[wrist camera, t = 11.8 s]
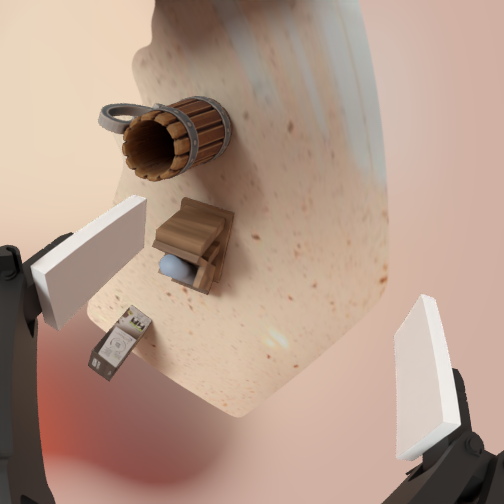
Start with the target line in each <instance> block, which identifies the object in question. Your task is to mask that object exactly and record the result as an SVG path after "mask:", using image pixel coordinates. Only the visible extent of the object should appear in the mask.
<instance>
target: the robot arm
mask: <svg viewBox="0 0 504 504" xmlns="http://www.w3.org/2000/svg"><path fill="white" fill-rule="evenodd" d="M146 203H147V198H144V197H141V196H137V195H134V194H133V195H132V196H130V197H128V198H127V199H125V200H124V201H122V202H120V203H119V204H117V205H116V206H114V207H113V208H111V209H110V210H108V211H107V212H105V213H104V214H102V215H101V216H99V217H98V218H97V219H95V220H93V221H92V222H90V223H89V224H87V225H86V226H84V227H83V228H82V229H80V230H79V231H77V232H76V233H75V234H74V233H72V232H71V233H68V234H65V235H62V236H60V237H58V238H57V239H55V240H54V241H53V242H52V243H51V244H48V245H47V246H46V247H45V248H44V249H42V250H40V251H39V252H38V253H36V254H35V255H33V256H32V257H31V258H29V259H28V260H27V261H26V262H24V263H23V264H22V260H21V255H20V251H19V249H18V248H17V247H15V246H13V245H5V246H1V247H0V504H55V500H54V497H53V495H52V492H51V491H50V489H49V487H48V484H47V481H46V476H45V470H44V464H43V456H42V449H41V440H40V430H39V418H38V403H37V333H38V320H37V316H38V315H39V314H40V313H41V312H42V314H43V317H44V320H45V323H47V324H48V325H50V326H51V327H53V328H55V329H56V330H58V331H59V330H60V329H61V328H62V327H63V326H64V325H65V324H66V323H67V322H68V321H69V320H70V319H71V318H72V317H73V316H74V315H75V314H76V313H77V312H78V310H80V309H81V307H82V306H83V305H84V304H85V303H86V302H87V301H88V300H89V299H91V298H92V297H93V296H94V295H95V294H96V293H97V292H98V291H99V290H100V289H101V288H102V287H103V286H104V285H105V284H106V283H107V282H108V281H109V280H110V279H111V278H112V277H113V276H114V275H115V274H116V273H117V272H118V271H119V270H120V269H121V268H123V267H124V266H125V265H126V264H127V263H128V262H129V261H130V260H131V259H132V258H133V257H134V256H135V255H136V254H138V253H139V252H140V251H141V250H142V249H143V248H144V236H145V218H146ZM394 349H395V366H396V392H397V439H396V459H402V460H409V461H413V460H415V459H416V458H418V457H419V456H421V455H422V454H423V462H422V463H421V464H419V465H418V466H416V467H415V468H413V469H412V470H410V471H409V472H407V473H406V475H409V474H410V473H411V474H410V475H409V476H408V477H407V478H406V479H405V480H404V481H403V482H402V483H401V484H400V486H399V487H398V488H397V489H396V490H395V491H394V492H393V493H392V494H391V495H390V496H389V497H388V498H387V499H386V500H385V501H384V502H383V503H382V504H504V451H502V452H501V453H499V454H498V455H497V456H496V455H494V454H491V453H490V452H488V451H486V450H484V444H483V441H482V439H481V438H480V436H479V435H477V434H476V433H475V432H472V428H471V421H470V414H469V408H468V402H467V401H466V400H467V397H466V393H465V386H464V381H463V379H462V377H461V375H460V373H459V371H458V369H454V368H452V367H451V362H450V357H449V352H448V348H447V344H446V339H445V335H444V331H443V327H442V323H441V319H440V315H439V312H438V308H437V304H436V301H435V298H432V297H429V296H426V295H424V294H421V295H420V297H419V298H418V300H417V301H416V303H415V305H414V306H413V308H412V309H411V311H410V312H409V314H408V315H407V317H406V319H405V320H404V322H403V323H402V324H401V326H400V327H399V329H398V330H397V332H396V333H395V335H394Z"/></svg>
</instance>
